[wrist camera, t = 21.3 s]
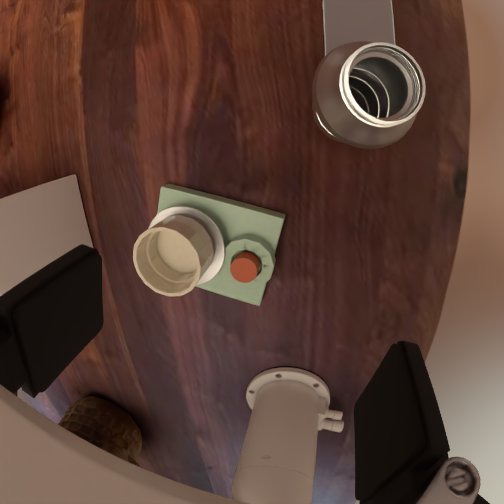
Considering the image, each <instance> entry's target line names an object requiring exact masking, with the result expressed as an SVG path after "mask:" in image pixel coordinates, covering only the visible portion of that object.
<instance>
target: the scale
mask: <svg viewBox="0 0 504 504" xmlns="http://www.w3.org/2000/svg"><path fill="white" fill-rule="evenodd" d="M173 206H188V207H192V208H195V209H198V210H200V211H202V212H203V213H205V214H206V215H207V216H209V217H210V218H211V219H212V220H213V221H214V222H215V224H216V225H217V227H218V228H219V230H220V232H221V234H222V236H223V239H224V243H225V259H224V262H223V265H222V267H221V269H220V271H219V272H218V274H217V275H216V276H215V277H214V278H213V279H211V280H210V281H208V282H206V283H204V284H200V285H195V286H196V287H199V288H202V289H206V290H209V291H212V292H215V293H218V294H221V295H225V296H228V297H231V298H234V299H238V300H241V301H244V302H248V303H251V304H254V305H258V306H260V303H261V300H262V297H263V294H264V290H265V287H266V283H267V281H268V280H270V278H271V276H272V273H273V269H274V266H275V262H276V259H275V252H276V248H277V244H278V241H279V237H280V234H281V230H282V226H283V223H284V219H285V214H283V213H280V212H276V211H272V210H269V209H265V208H262V207H258V206H254V205H251V204H247V203H243V202H239V201H236V200H232V199H228V198H224V197H221V196H217V195H213V194H209V193H205V192H201V191H197V190H193V189H189V188H185V187H181V186H177V185H173V184H169V183H168V184H166V185H163V186H161V190H160V198H159V205H158V213H157V215H158V214H159V213H160V212H162V211H163V210H165V209H167V208H170V207H173ZM241 252H251V253H253V254H254V255H256V256H257V258H258V259H259V262H260V268H259V270H258V273H257V275H256V277H255V279H254V280H252V281H251V282H248V283H242V282H239V281H237V280H236V279H234V278H233V276H232V274H231V272H230V266H231V264H232V262H233V260H234V259H235V257H236V256H237V255H238V254H239V253H241Z"/></svg>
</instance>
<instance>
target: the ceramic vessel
mask: <svg viewBox="0 0 504 504" xmlns="http://www.w3.org/2000/svg"><path fill="white" fill-rule="evenodd" d="M58 425H60V426H61V427H63V428H65V429H66V430H68V431H70V432H71V433H73V434H75V435H77V436H78V437H80V438H82V439H84V440H86V441H87V442H89V443H91V444H93V445H95V446H97V447H99V448H100V449H102V450H104V451H106V452H108V453H110V454H112V455H114V456H116V457H119V458H121V459H123V460H125V461H127V462H129V463H131V464H134V465H136V466H138V467H140V466H139V464H138V463H137V462H136V460H137V458H138V456H139V453H140V452H141V447H142V438H141V433H140V430H139V428H138V427H137V425H136V423H135V422H134V420H133V418H132V417H131V416H130V415H129V414H127V413H126V412H125V411H123V410H122V409H121V408H119V407H118V406H116V405H115V404H113V403H111V402H109V401H108V400H105V399H101V398H97V397H94V396H90V397H86V398H83V399H80V400H79V401H77V402H76V403H74V404H73V405H71V406H70V407H69V408H68V410H67V411H66V413H65V415H64V417H63V418H62V420H61V421H60V423H59V424H58Z"/></svg>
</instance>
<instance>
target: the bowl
mask: <svg viewBox="0 0 504 504" xmlns="http://www.w3.org/2000/svg"><path fill="white" fill-rule="evenodd" d="M213 253H214V250H213V245H212V241H211V238H210V236H209V235H208V233H207V232H206V230H205V229H204V227H203V226H202V225H200V224H199V223H198V222H196V221H195V220H194V219H192V218H189V217H185V216H181V215H176V216H169V217H166V218H165V219H163V220H161V221H160V222H158V223H157V224H155V225H154V226H152V227H151V228H149V229H148V230H147V231H145V232H144V233H142V234H141V235H140V236H139V237H138V239H137V241H136V243H135V245H134V251H133V261H134V264H135V268H136V271H137V273H138V275H139V276H140V277H141V279H142V280H143V282H144V283H145V284H146V285H147V286H149V287H150V288H151V289H152V290H154V291H155V292H157V293H160V294H163V295H166V296H182V295H184V294H186V293H188V292H190V291H192V290H193V288H194V287H195V285H196V284H197V283H198V281H199V280H200V279H201V277H202V276H203V275H204V273H205V272H206V271H207V269H208V268H209V266H210V265H211V263H212V258H213Z"/></svg>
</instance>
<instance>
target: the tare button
mask: <svg viewBox="0 0 504 504" xmlns="http://www.w3.org/2000/svg"><path fill="white" fill-rule="evenodd" d="M259 268H260V262H259V259H258V258H257V256H256V255H254V254H253V253H251V252H241V253H239V254H238V255H237V256H236V257H235V259H234V260H233V262H232V264H231V266H230V272H231V274H232V276H233V278H234V279H236V280H237V281H239V282H242V283H248V282H251V281H252V280H254V279H255V277H256V275H257V273H258V270H259Z"/></svg>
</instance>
